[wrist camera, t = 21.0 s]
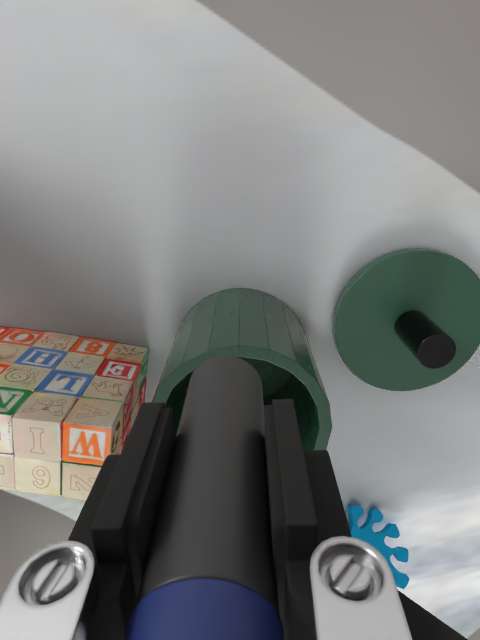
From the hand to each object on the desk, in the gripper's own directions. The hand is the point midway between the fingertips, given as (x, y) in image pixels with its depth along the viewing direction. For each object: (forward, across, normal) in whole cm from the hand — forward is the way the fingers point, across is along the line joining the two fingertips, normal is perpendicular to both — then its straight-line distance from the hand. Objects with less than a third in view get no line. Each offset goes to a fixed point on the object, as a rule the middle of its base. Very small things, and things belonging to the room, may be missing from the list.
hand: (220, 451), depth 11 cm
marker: (+3, 0, 0) cm, 3 cm away
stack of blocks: (+25, +19, +10) cm, 33 cm away
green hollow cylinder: (+25, 0, +9) cm, 27 cm away
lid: (+25, -14, +7) cm, 29 cm away
